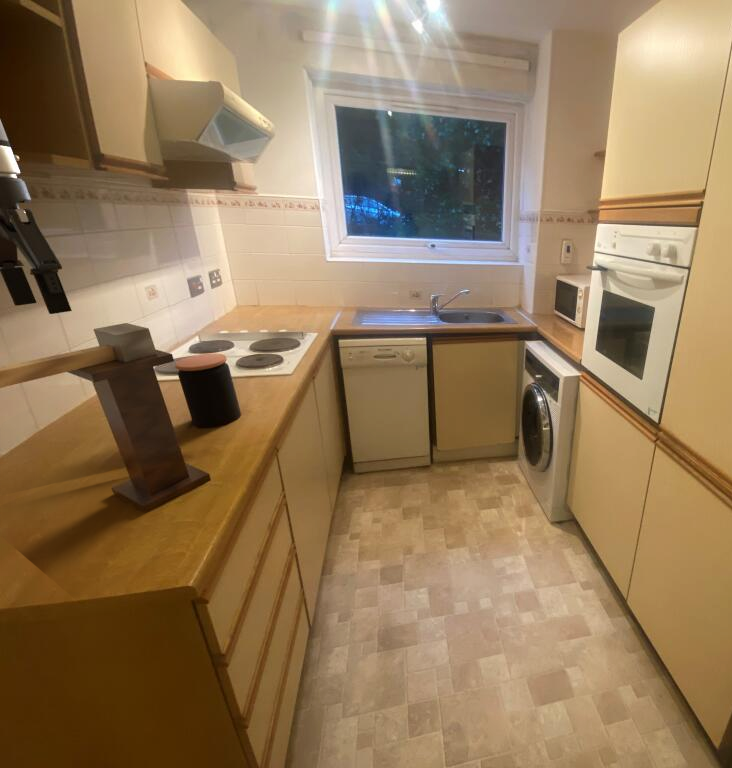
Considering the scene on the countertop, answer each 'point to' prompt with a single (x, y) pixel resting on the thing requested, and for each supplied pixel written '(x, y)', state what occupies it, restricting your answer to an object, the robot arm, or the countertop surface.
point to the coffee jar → (208, 390)
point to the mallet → (86, 354)
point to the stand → (142, 431)
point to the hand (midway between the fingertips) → (42, 308)
